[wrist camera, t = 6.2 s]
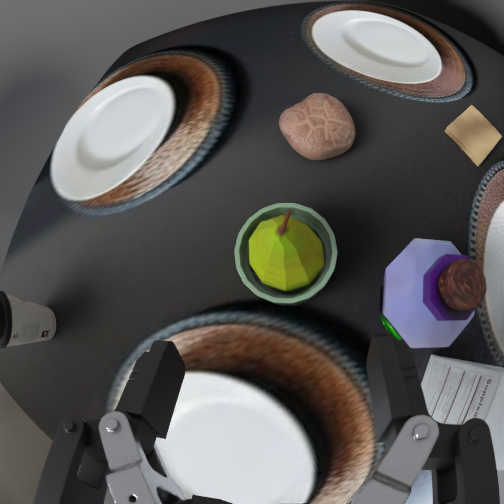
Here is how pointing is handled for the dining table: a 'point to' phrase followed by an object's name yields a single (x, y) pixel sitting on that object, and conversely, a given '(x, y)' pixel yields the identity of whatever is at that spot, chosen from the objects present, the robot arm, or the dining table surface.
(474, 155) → the board
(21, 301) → the coffee cup
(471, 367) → the white packaging box
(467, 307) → the potion bottle
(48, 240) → the dining table surface
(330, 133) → the brown rounded lump
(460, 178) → the dining table surface
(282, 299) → the bowl
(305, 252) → the fruit
